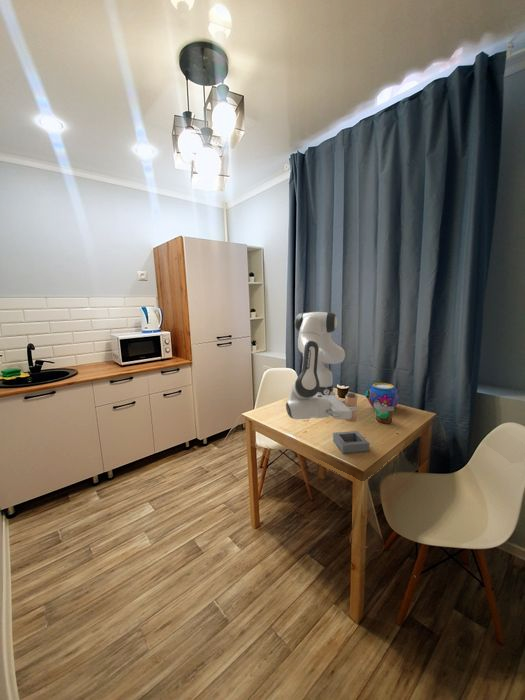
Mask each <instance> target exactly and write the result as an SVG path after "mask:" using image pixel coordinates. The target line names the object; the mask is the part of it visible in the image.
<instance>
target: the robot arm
mask: <svg viewBox="0 0 525 700" xmlns="http://www.w3.org/2000/svg"><path fill="white" fill-rule="evenodd" d="M294 325H295V329H296V331H298V336H297V337H298V338H297V349H298V350H299V352H300V353H301V354H302V364H301V365H302V366H301V372H300V374H299V375H298V376H297V379H296V380H295V381H294V382H293V384H292V385H291V389H290V394H289V397H288V399H287V401H286V402H285V409H286V412H287V415H288V417H289V418H291V419H293V420H310V419H327V418H329V417H332V418H333V419H335V420H345V419H350V418H351V417H352V411H356V410H358V409H357V408H358V407H356V406H351V407H347V406H346V405H345V400H343V399H339V398H338V397H337V396H336V392H335V391H334V384H333V373H332V371H331V370H330V369H328V368H326V366H324V364H330V365H331V364H332V365H333V364H334V365H335V364H336V365H337V364H341V363H343V362H344V360H345V359H346V352H345V350H344V348H343V347H341V346H339V345H338V344H337V343H336V342H334V340H333V338H332V333H334V332H335V330H336V329H337V327H338V317H337V315H336V314H335V313H334V312H330V311H328V312H325V311H310V312H300V313H298V314H297V315H296V317H295V319H294Z"/></svg>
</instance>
